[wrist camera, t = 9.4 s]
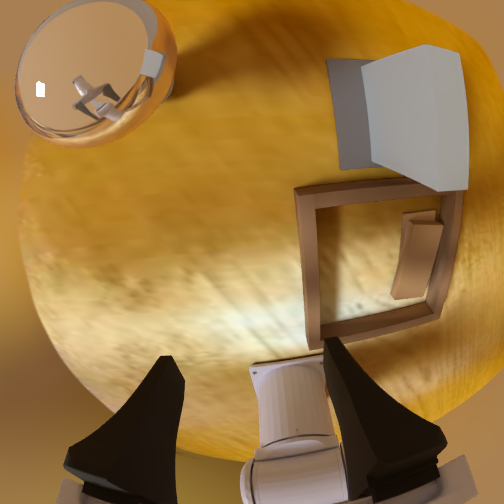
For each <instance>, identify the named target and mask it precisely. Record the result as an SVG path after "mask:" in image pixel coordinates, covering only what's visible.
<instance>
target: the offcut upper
mask: <svg viewBox="0 0 504 504" xmlns="http://www.w3.org/2000/svg"><path fill="white" fill-rule="evenodd" d="M443 226H444V225H443V224H441V223H440V222H438V221H427V220H408V222H407V227H406V232H405V237H404V242H403V246H402V251H401V255H400V259H399V263H398V267H397V271H396V275H395V279H394V282H393V286H392V289H391V293H390V294H391V296H392V297H393V298H394V300H400V299H408V298H416V297H423V295H424V292H425V290H426V287H427V284H428V281H429V278H430V274H431V271H432V268H433V265H434V261H435V258H436V254H437V251H438V247H439V243H440V239H441V235H442V231H443Z"/></svg>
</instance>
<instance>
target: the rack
mask: <svg viewBox="0 0 504 504" xmlns="http://www.w3.org/2000/svg"><path fill="white" fill-rule="evenodd" d="M436 195H442V196H441V210H440V220H439V222H440V223H441V224H443V225H444V226H443V231H442V235H441V239H440V243H439V247H438V251H437V254H436V258H435V261H434V265H433V268H432V274H431V279H430V284H429V288H428V293H427V297H426V301H425V302H423V303H419V304H416V305H412V306H408V307H404V308H400V309H396V310H392V311H388V312H384V313H379V314H375V315H371V316H366V317H361V318H357V319H352V320H347V321H342V322H337V323H331V324H326V325H320V287H319V262H318V243H317V227H316V214H315V209H318V208H326V207H333V206H341V205H350V204H358V203H367V202H376V201H385V200H394V199H404V198H414V197H425V196H436ZM294 197H295V205H296V215H297V224H298V234H299V245H300V256H301V268H302V281H303V295H304V311H305V328H306V338H307V343H308V347H309V351H310V350H315V349H321V348H324V339H325V338H330V337H335V336H337V337H339V339H340V340H341V342H342V343H343V344H346V343H351V342H356V341H360V340H365V339H369V338H373V337H377V336H381V335H385V334H389V333H393V332H397V331H400V330H404V329H407V328H411V327H414V326H418V325H421V324H424V323H428V322H431V321H434V320H437V319H439V318H440V315H441V312H442V308H443V305H444V302H445V298H446V294H447V291H448V287H449V283H450V279H451V274H452V270H453V265H454V261H455V256H456V250H457V245H458V239H459V232H460V226H461V218H462V209H463V199H464V190H454V191H440V192H437V191H436V190H434V189H432V188H430V187H428V186H426V185H424V184H421V183H419V182H417V181H415V180H413V179H411V178H409V177H403V178H389V179H376V180H365V181H354V182H344V183H335V184H326V185H317V186H309V187H301V188H294Z"/></svg>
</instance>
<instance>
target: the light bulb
mask: <svg viewBox="0 0 504 504" xmlns="http://www.w3.org/2000/svg"><path fill="white" fill-rule="evenodd" d="M176 65H177V45H176V40H175V35H174V33H173V31H172V29H171V26H170V24H169V22H168V20H167V19H166V17H165V16H164V15H163V14H162V13H161V12H160V10H159V9H157V8H156V7H155V6H153V5H152V4H150V3H149V2H147V1H145V0H74V1H72V2H70V3H68V4H66V5H65V6H63V7H62V8H60V9H58V10H57V11H55V12H54V13H52V14H51V15H50V16H49V17H48V18H47V19H46V20H44V21H43V22H42V24H41V25H40V26H39V27H38V28H37V29H36V30H35V32H34V33H33V35H32V36H31V37H30V39H29V41H28V42H27V44H26V46H25V48H24V50H23V52H22V54H21V56H20V59H19V62H18V66H17V70H16V75H15V87H14V88H15V99H16V102H17V106H18V109H19V111H20V113H21V115H22V117H23V119H24V121H25V123H26V124H27V125H28V127H29V128H30V129H31V130H32V131H33V132H34V133H35V134H37V135H38V136H39V137H41V138H42V139H44V140H45V141H47V142H48V143H52V144H55V145H58V146H61V147H65V148H72V149H85V148H93V147H99V146H103V145H106V144H108V143H111V142H114V141H116V140H118V139H121V138H123V137H124V136H126V135H128V134H129V133H131V132H133V131H135V130H136V129H137V128H138V127H139V126H141V125H142V124H143V123H144V122H145V121H147V120H148V118H149V117H150V116H151V115H152V114H153V113H154V111H155V110H156V109H157V108H158V107H159V105H160V104H162V103H163V102H164V101H165V100H166V99H167V98H168V97H169V95H170V94H171V92H172V89H173V86H174V73H175V69H176Z"/></svg>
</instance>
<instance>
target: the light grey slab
mask: <svg viewBox="0 0 504 504" xmlns="http://www.w3.org/2000/svg"><path fill="white" fill-rule="evenodd" d="M361 70H362V76H363V82H364V89H365V96H366V103H367V111H368V120H369V130H370V142H371V156H372V162H374V163H377V164H379V165H382V166H384V167H386V168H389V169H391V170H393V171H396V172H398V173H400V174H402V175H404V176H407V177H409V178H411V179H413V180H415V181H417V182H419V183H421V184H424V185H426V186H428V187H430V188H432V189H434V190H436V191H437V192H440V191H454V190H468V179H469V124H468V110H467V100H466V91H465V84H464V77H463V71H462V65H461V60H460V55H459V53H457V52H454V51H450V50H447V49H443V48H439V47H436V46H432V45H427V44H424V45H421V46H418V47H414V48H411V49H408V50H405V51H402V52H399V53H396V54H393V55H390V56H387V57H385V58H382V59H379V60H377V61H374V62H371V63H369V64H366V65H364V66H361Z"/></svg>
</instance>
